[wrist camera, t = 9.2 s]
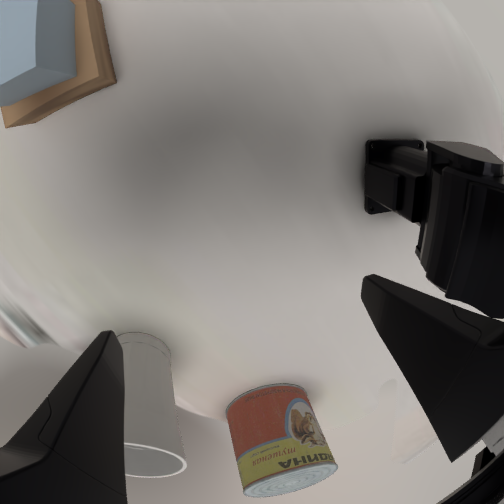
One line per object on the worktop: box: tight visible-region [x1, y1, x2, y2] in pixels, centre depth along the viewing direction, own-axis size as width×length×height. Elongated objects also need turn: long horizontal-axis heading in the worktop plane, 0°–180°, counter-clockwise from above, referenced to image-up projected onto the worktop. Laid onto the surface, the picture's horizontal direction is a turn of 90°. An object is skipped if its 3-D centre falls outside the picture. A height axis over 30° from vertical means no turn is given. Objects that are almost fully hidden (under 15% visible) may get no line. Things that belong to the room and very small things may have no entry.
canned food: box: [226, 384, 338, 497], centre depth 30 cm, size 11×11×12 cm
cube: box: [0, 0, 77, 107], centre depth 7 cm, size 5×5×5 cm
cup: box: [117, 332, 187, 478], centre depth 21 cm, size 8×8×12 cm
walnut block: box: [1, 0, 117, 128], centre depth 12 cm, size 7×7×4 cm
